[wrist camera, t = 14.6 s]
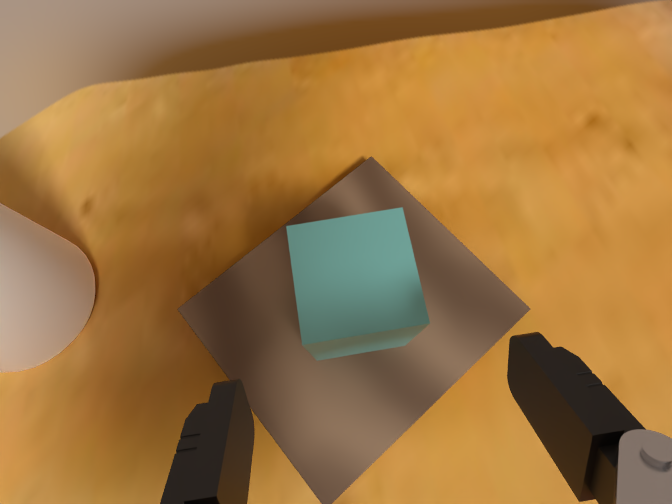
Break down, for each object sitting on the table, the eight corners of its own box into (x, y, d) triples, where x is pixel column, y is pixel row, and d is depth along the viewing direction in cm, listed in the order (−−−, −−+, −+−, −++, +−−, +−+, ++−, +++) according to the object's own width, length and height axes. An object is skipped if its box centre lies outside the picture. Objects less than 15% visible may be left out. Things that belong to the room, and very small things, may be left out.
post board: (370, 165, 30) (376, 96, 23) (522, 312, 26) (584, 283, 19) (184, 312, 27) (127, 284, 20) (327, 503, 23) (317, 549, 16)
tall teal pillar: (387, 261, 26) (402, 207, 18) (404, 345, 24) (430, 323, 17) (304, 275, 26) (286, 226, 18) (317, 360, 24) (302, 345, 17)
